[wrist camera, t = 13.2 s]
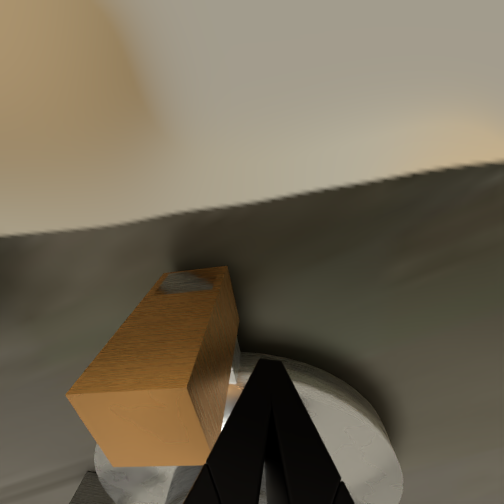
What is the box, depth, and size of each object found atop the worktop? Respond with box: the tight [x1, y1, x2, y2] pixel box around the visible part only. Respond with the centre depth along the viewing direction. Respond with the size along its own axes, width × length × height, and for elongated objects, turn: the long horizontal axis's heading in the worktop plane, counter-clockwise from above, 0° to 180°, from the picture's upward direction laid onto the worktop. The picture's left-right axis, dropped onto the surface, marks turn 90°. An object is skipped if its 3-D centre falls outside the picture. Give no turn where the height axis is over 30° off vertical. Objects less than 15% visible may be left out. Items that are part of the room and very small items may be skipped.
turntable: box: [66, 266, 403, 504], centre depth 13 cm, size 23×18×6 cm
